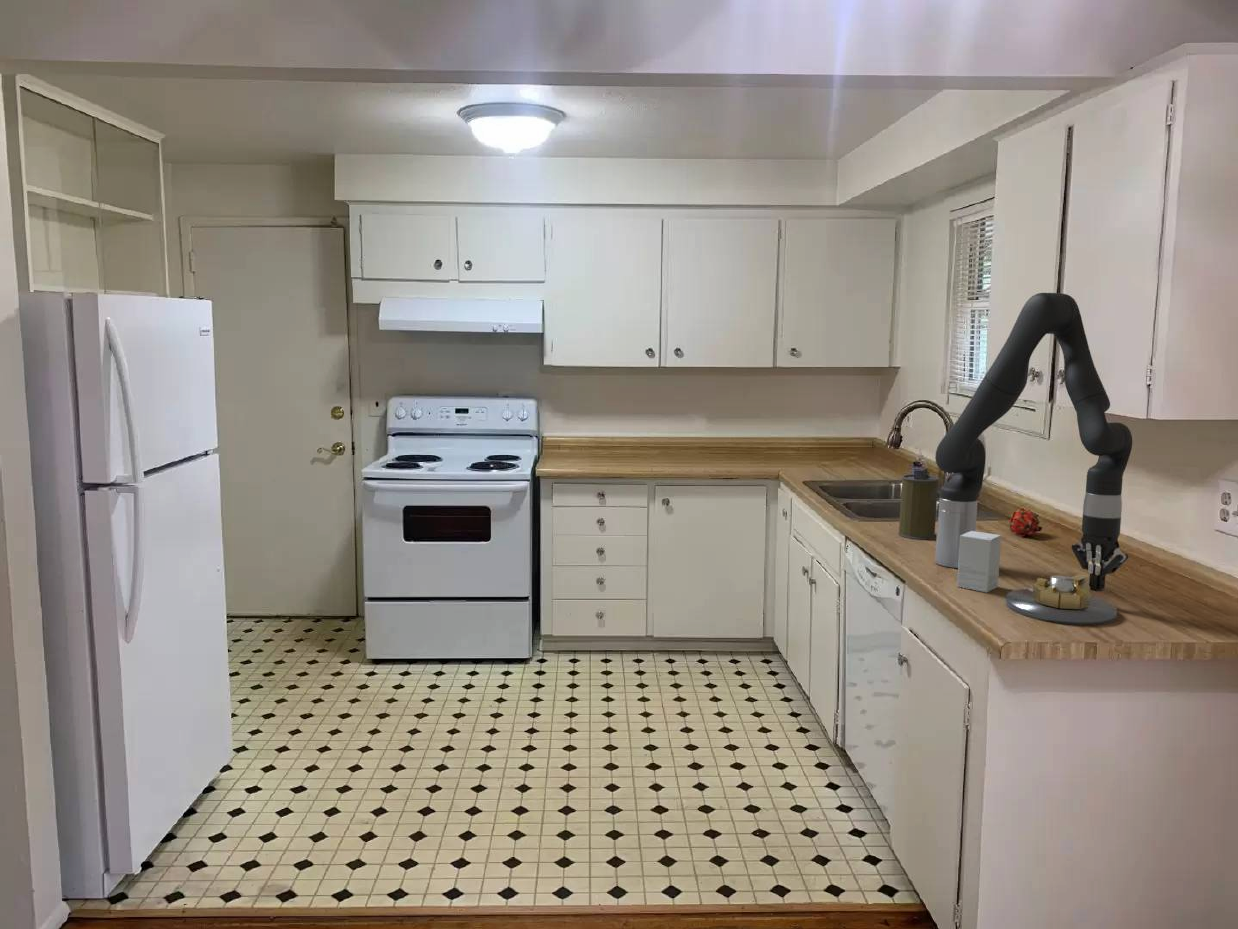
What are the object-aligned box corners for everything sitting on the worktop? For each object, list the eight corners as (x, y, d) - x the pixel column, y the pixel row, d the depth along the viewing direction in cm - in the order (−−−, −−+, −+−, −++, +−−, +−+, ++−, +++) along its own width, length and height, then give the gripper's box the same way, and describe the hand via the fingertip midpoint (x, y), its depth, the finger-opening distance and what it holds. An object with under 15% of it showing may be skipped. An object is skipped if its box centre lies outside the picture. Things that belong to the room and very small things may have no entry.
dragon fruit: (1021, 535, 285) (1028, 550, 274) (998, 518, 285) (1005, 532, 274) (1041, 515, 282) (1049, 529, 271) (1019, 498, 282) (1026, 511, 271)
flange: (987, 595, 215) (989, 565, 214) (1078, 594, 217) (1081, 565, 216) (1038, 626, 193) (1041, 593, 192) (1139, 624, 195) (1142, 592, 194)
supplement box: (998, 587, 222) (1002, 535, 220) (986, 593, 216) (991, 539, 215) (967, 581, 227) (971, 529, 225) (955, 587, 221) (959, 534, 219)
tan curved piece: (1073, 611, 197) (1075, 592, 197) (1024, 599, 205) (1026, 581, 205) (1108, 598, 207) (1110, 580, 207) (1061, 587, 216) (1062, 569, 215)
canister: (930, 541, 268) (935, 472, 265) (893, 536, 274) (898, 468, 271) (939, 534, 277) (943, 467, 274) (903, 529, 283) (907, 464, 280)
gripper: (1141, 517, 201) (1135, 596, 203) (1087, 507, 213) (1082, 582, 215) (1117, 520, 198) (1111, 599, 200) (1064, 510, 210) (1059, 585, 212)
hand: (1096, 590), depth 208 cm, fingers closed
